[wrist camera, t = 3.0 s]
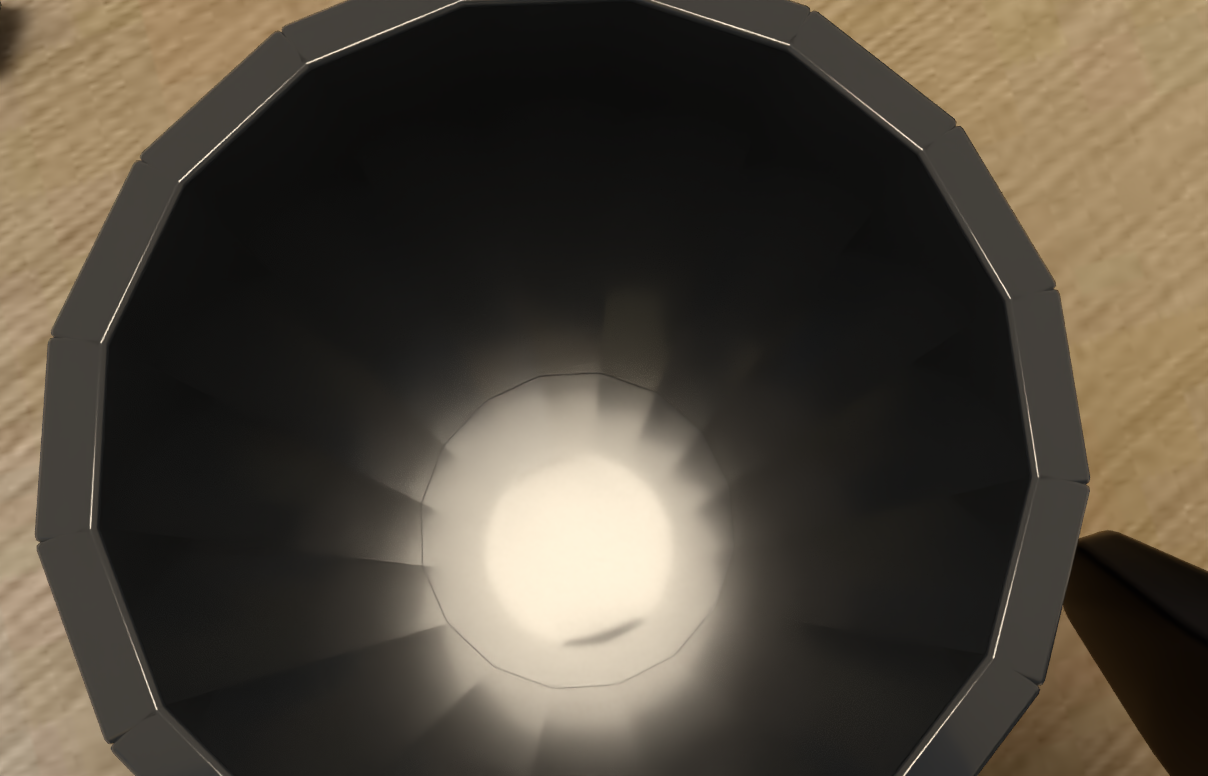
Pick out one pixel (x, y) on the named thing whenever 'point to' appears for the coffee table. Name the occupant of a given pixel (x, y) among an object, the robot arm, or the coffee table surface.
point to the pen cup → (561, 410)
